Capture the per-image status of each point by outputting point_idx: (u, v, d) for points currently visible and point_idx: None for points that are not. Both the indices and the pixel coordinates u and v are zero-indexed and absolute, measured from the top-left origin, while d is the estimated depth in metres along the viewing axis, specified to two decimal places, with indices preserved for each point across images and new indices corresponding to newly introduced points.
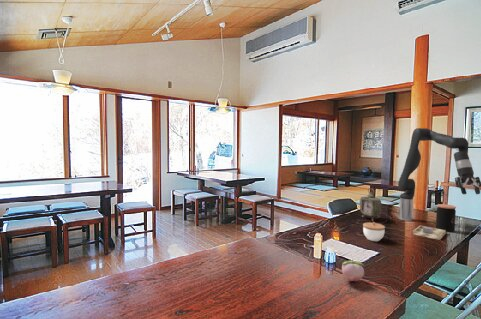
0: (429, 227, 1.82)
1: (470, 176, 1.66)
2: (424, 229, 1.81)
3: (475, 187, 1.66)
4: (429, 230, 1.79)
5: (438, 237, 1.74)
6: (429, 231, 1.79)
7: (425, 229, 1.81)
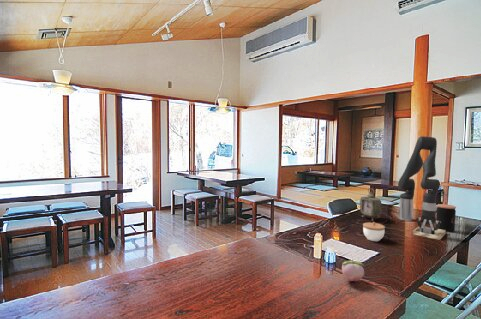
0: (429, 227, 1.82)
1: (430, 218, 1.79)
2: (424, 229, 1.81)
3: (432, 228, 1.80)
4: (429, 230, 1.79)
5: (438, 237, 1.74)
6: (429, 231, 1.79)
7: (425, 229, 1.81)
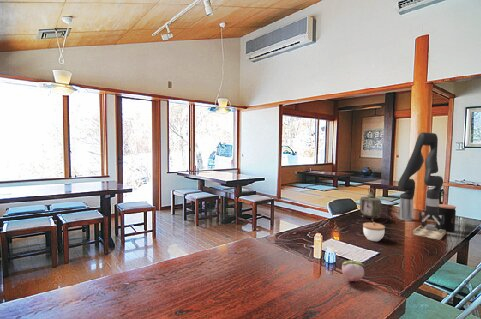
0: None
1: (433, 213, 1.85)
2: (427, 226, 1.87)
3: (438, 223, 1.85)
4: (432, 227, 1.85)
5: (438, 237, 1.74)
6: (432, 228, 1.85)
7: (428, 226, 1.87)
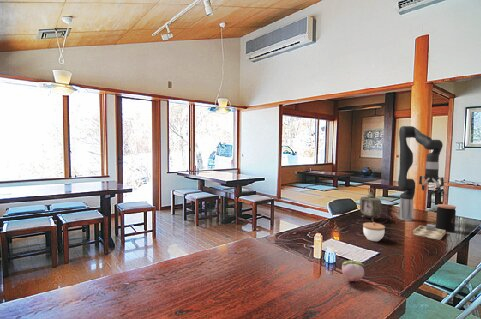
0: None
1: (433, 176, 1.90)
2: (427, 226, 1.87)
3: (438, 186, 1.90)
4: (432, 227, 1.85)
5: (438, 237, 1.74)
6: (432, 228, 1.85)
7: (428, 226, 1.87)
